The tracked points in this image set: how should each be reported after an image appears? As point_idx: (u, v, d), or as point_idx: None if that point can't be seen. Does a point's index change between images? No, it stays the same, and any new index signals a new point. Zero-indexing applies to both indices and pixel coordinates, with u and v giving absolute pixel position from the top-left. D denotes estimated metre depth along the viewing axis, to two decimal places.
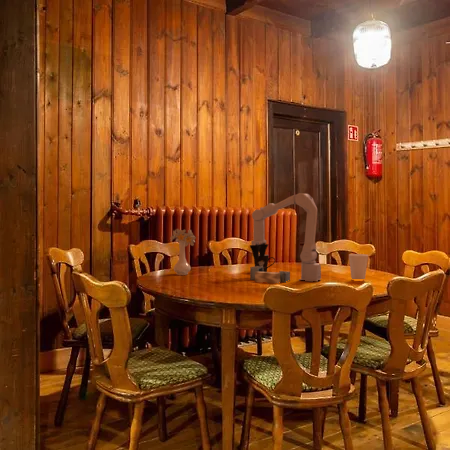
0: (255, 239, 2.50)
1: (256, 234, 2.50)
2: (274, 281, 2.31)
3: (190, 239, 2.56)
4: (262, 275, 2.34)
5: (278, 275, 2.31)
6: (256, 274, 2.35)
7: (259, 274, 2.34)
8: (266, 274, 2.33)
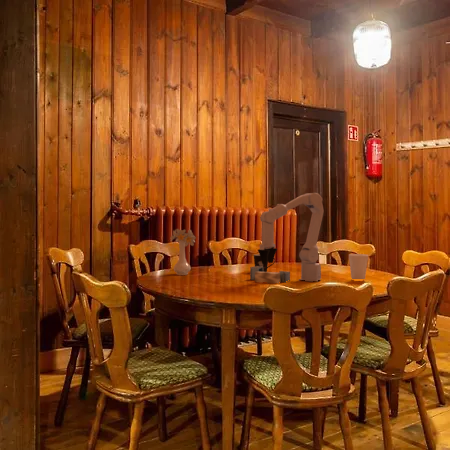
0: (263, 243, 2.32)
1: (265, 238, 2.31)
2: (274, 281, 2.31)
3: (190, 239, 2.56)
4: (262, 275, 2.34)
5: (278, 275, 2.31)
6: (256, 274, 2.35)
7: (259, 274, 2.34)
8: (266, 274, 2.33)
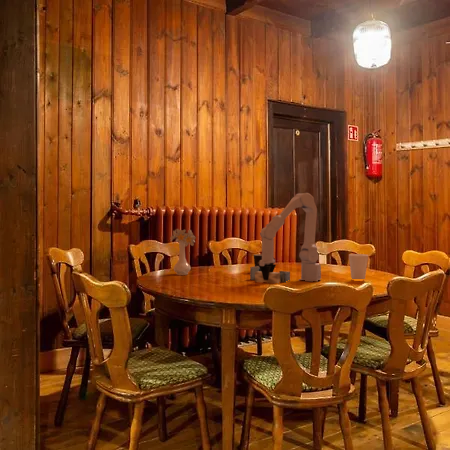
0: (263, 259, 2.32)
1: (265, 254, 2.32)
2: (274, 281, 2.31)
3: (190, 239, 2.56)
4: (262, 275, 2.34)
5: (278, 275, 2.31)
6: (256, 274, 2.35)
7: (259, 273, 2.34)
8: None
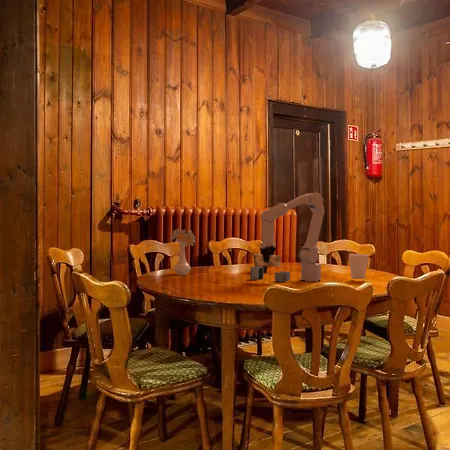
0: (264, 242, 2.32)
1: (265, 236, 2.32)
2: (274, 264, 2.31)
3: (190, 239, 2.56)
4: (262, 258, 2.34)
5: (278, 258, 2.31)
6: (256, 257, 2.35)
7: (260, 257, 2.35)
8: None
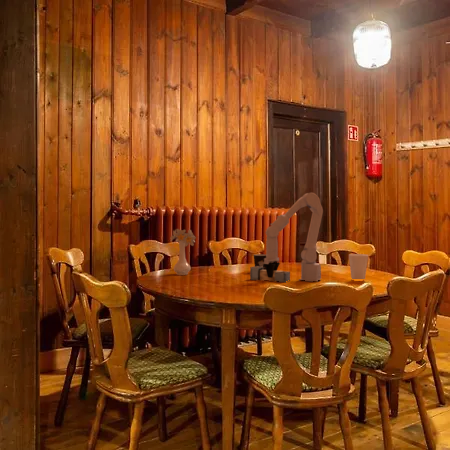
0: (268, 257, 2.38)
1: (269, 252, 2.38)
2: None
3: (190, 239, 2.56)
4: (266, 273, 2.40)
5: None
6: (261, 272, 2.41)
7: (264, 272, 2.40)
8: None
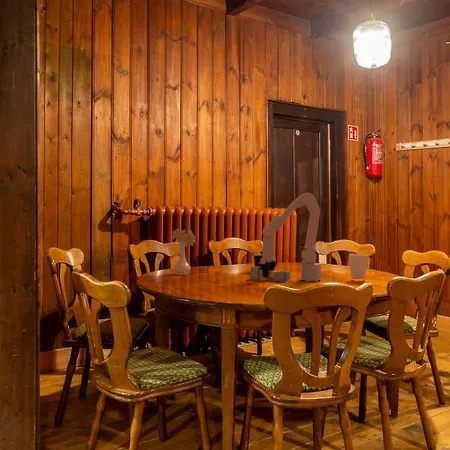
0: (264, 257, 2.39)
1: (265, 252, 2.39)
2: None
3: (190, 239, 2.56)
4: None
5: None
6: None
7: (261, 272, 2.41)
8: None
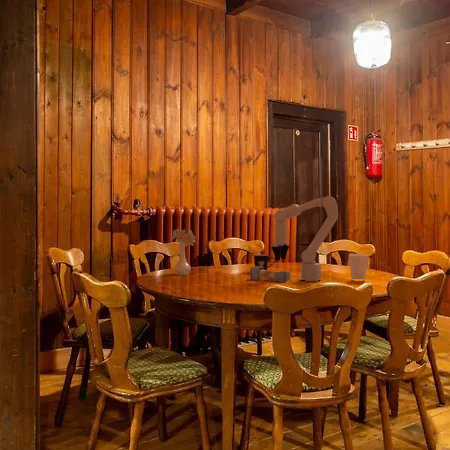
0: (277, 240, 2.43)
1: (278, 235, 2.42)
2: None
3: (190, 239, 2.56)
4: (263, 273, 2.40)
5: None
6: None
7: (261, 272, 2.41)
8: (268, 272, 2.39)
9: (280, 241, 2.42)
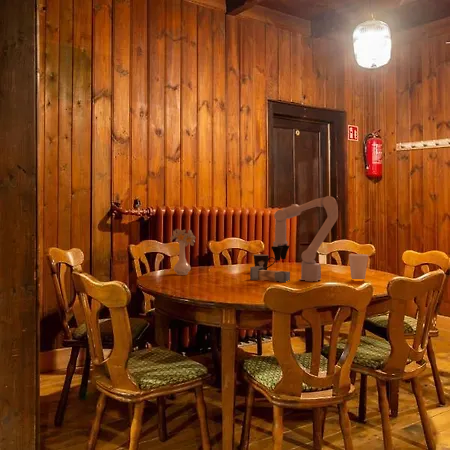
0: (277, 240, 2.43)
1: (278, 235, 2.42)
2: None
3: (190, 239, 2.56)
4: (263, 273, 2.40)
5: None
6: None
7: (261, 272, 2.41)
8: (268, 272, 2.39)
9: (280, 241, 2.42)
